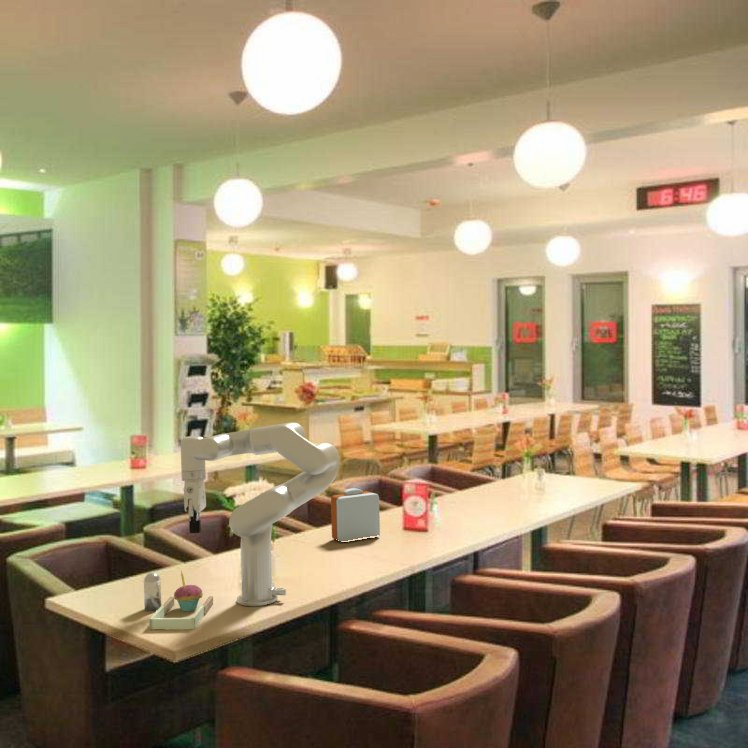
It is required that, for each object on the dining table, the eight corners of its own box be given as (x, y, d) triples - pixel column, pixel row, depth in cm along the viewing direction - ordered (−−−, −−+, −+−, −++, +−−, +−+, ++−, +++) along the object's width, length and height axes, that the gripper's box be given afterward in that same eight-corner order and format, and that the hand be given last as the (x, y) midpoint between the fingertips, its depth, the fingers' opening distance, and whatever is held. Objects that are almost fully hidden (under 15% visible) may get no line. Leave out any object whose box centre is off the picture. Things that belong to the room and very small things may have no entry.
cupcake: (180, 614, 248) (179, 575, 248) (169, 608, 255) (168, 569, 255) (207, 609, 253) (206, 570, 253) (196, 602, 260) (194, 564, 260)
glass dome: (163, 606, 257) (162, 570, 257) (158, 611, 252) (157, 575, 252) (147, 606, 257) (146, 570, 257) (142, 611, 252) (141, 575, 252)
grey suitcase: (370, 534, 350) (369, 485, 350) (380, 537, 343) (379, 488, 342) (331, 539, 341) (330, 490, 340) (341, 544, 333) (339, 493, 333)
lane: (213, 604, 258) (213, 596, 258) (205, 615, 247) (205, 607, 247) (170, 604, 258) (170, 596, 258) (160, 616, 248) (160, 607, 248)
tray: (204, 615, 247) (203, 605, 247) (194, 629, 235) (194, 618, 235) (161, 615, 248) (161, 606, 248) (149, 629, 236) (149, 619, 236)
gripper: (199, 478, 256) (201, 537, 257) (210, 471, 271) (212, 527, 272) (175, 479, 257) (177, 538, 257) (187, 471, 272) (189, 527, 272)
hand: (195, 532), depth 265 cm, fingers closed
